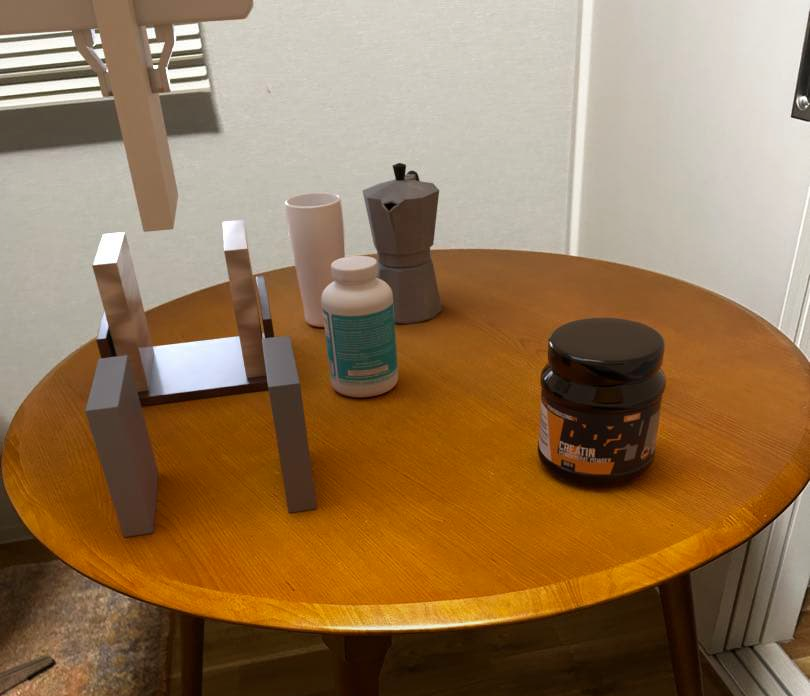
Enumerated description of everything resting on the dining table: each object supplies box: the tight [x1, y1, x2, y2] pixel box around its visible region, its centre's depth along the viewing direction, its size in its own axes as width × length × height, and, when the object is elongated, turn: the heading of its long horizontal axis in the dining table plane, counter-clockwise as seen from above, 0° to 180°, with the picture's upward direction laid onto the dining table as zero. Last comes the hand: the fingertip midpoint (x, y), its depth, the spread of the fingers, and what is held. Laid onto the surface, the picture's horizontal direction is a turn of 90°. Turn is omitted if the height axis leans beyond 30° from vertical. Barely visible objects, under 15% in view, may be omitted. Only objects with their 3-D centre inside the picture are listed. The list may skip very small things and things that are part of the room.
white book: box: [92, 0, 179, 233], centre depth 67 cm, size 2×11×18 cm, turn 10°
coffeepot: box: [362, 162, 443, 325], centre depth 105 cm, size 15×9×18 cm, turn 168°
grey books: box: [84, 334, 318, 538], centre depth 73 cm, size 16×10×12 cm, turn 101°
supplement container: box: [537, 317, 667, 488], centre depth 74 cm, size 10×10×12 cm
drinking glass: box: [284, 191, 346, 328], centre depth 104 cm, size 7×7×15 cm
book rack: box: [91, 219, 275, 407], centre depth 93 cm, size 18×14×15 cm
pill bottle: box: [321, 255, 399, 398], centre depth 89 cm, size 8×7×14 cm
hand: (137, 94), depth 67 cm, fingers closed on white book, 2 cm apart
